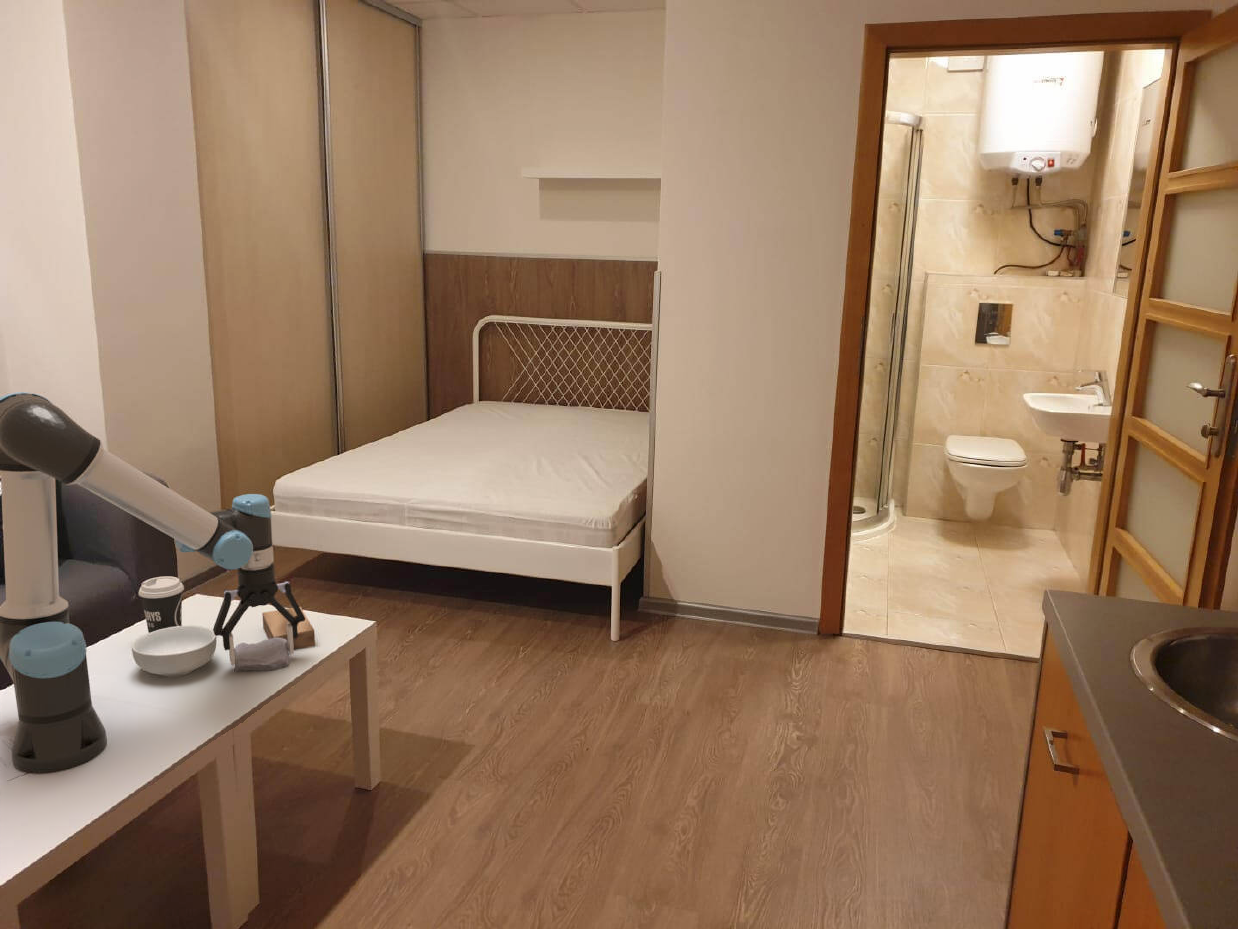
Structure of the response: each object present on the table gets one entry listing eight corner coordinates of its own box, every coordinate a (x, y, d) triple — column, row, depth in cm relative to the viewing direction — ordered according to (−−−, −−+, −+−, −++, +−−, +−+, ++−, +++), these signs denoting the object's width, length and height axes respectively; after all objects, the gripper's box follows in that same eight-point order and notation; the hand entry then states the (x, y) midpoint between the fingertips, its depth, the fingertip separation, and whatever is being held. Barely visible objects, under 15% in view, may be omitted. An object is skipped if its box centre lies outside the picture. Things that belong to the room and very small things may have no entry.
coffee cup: (156, 633, 229) (151, 574, 226) (195, 635, 229) (190, 575, 225) (135, 650, 220) (129, 588, 216) (176, 651, 219) (170, 590, 216)
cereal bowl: (233, 656, 218) (230, 627, 216) (191, 689, 202) (188, 658, 200) (164, 650, 220) (161, 621, 219) (117, 682, 204) (114, 651, 203)
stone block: (291, 674, 213) (288, 648, 222) (290, 657, 211) (286, 631, 220) (234, 684, 209) (233, 657, 218) (232, 666, 207) (231, 640, 216)
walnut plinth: (274, 653, 220) (273, 636, 219) (263, 628, 234) (262, 612, 233) (315, 645, 224) (314, 630, 223) (301, 621, 238) (300, 606, 237)
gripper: (198, 578, 200) (206, 674, 205) (315, 562, 211) (320, 653, 216) (194, 567, 206) (202, 660, 211) (308, 552, 218) (313, 640, 223)
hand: (262, 656), depth 214 cm, fingers closed on stone block, 12 cm apart
